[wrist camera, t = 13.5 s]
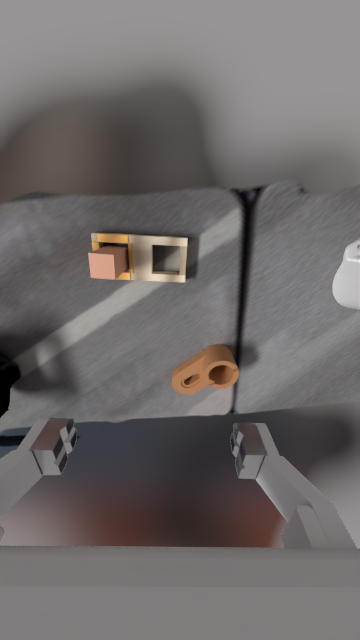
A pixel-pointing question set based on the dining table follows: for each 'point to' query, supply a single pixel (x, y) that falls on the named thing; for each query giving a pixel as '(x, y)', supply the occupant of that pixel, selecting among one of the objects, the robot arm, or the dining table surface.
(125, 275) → the peg board
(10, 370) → the pottery vessel
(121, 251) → the terracotta peg
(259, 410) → the dining table surface
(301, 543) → the robot arm
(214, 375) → the bracket
